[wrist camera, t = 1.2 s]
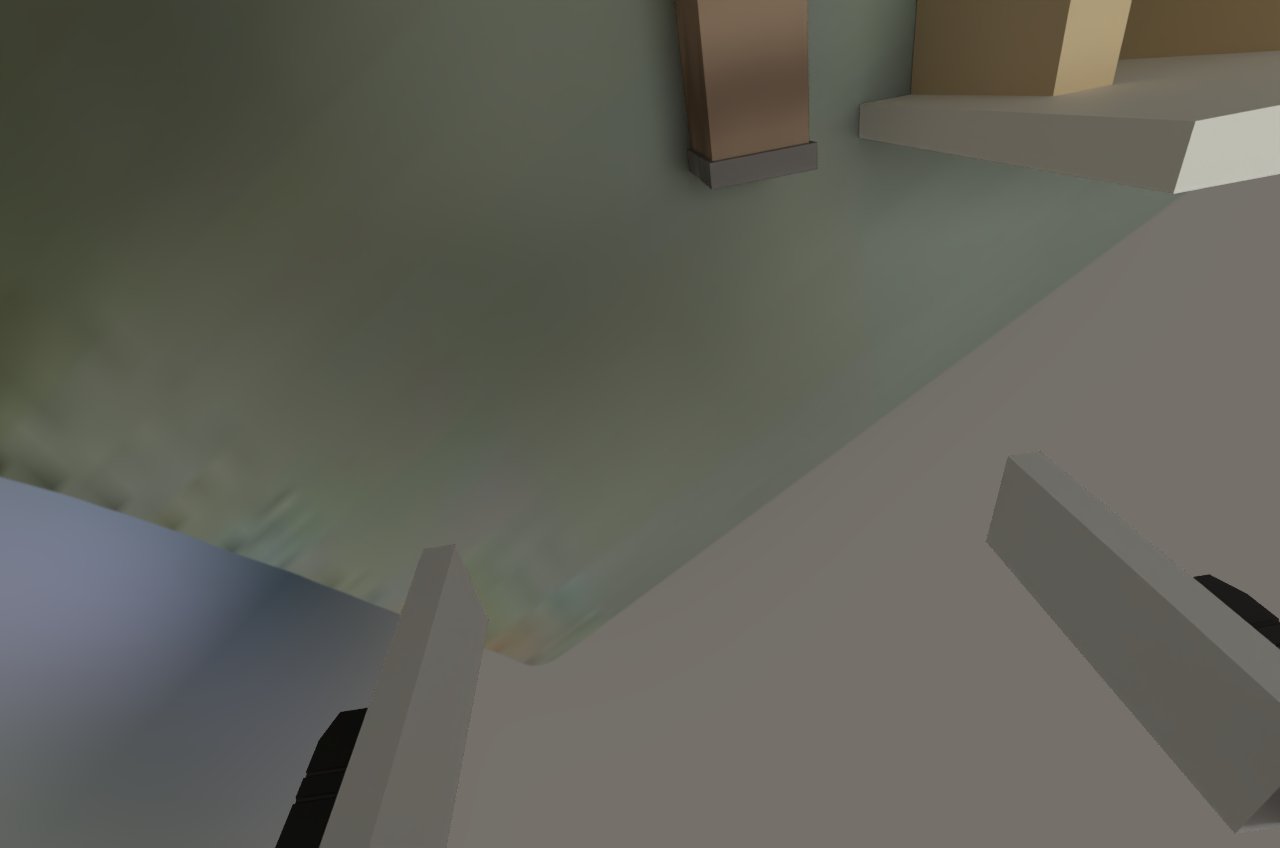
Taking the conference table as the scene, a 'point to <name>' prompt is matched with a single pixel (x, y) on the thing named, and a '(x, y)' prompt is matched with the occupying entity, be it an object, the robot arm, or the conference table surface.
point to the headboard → (1095, 89)
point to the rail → (746, 89)
